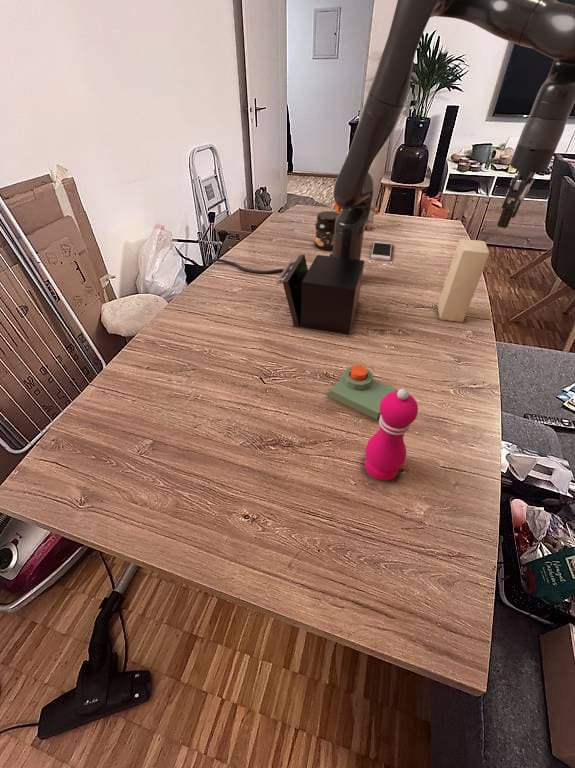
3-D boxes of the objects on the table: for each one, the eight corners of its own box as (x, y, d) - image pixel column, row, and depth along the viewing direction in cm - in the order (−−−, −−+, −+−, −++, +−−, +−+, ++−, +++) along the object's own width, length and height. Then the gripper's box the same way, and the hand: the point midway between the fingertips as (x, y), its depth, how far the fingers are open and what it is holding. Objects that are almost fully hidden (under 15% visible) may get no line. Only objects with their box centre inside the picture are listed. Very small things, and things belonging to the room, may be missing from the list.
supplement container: (309, 243, 152) (311, 212, 144) (332, 239, 156) (335, 209, 148) (321, 253, 145) (323, 221, 137) (345, 249, 148) (348, 217, 140)
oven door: (284, 327, 108) (272, 283, 100) (300, 297, 121) (290, 256, 113) (299, 326, 106) (288, 281, 98) (313, 296, 119) (304, 254, 111)
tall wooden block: (465, 323, 109) (493, 252, 95) (439, 320, 110) (462, 250, 96) (462, 309, 115) (487, 240, 101) (437, 306, 116) (458, 238, 102)
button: (347, 377, 85) (348, 371, 84) (355, 369, 87) (355, 363, 86) (361, 383, 84) (362, 377, 82) (368, 375, 86) (370, 369, 85)
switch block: (329, 397, 85) (330, 384, 83) (349, 374, 91) (351, 361, 89) (376, 420, 80) (380, 407, 78) (395, 394, 86) (399, 382, 84)
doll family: (376, 228, 165) (382, 196, 156) (371, 236, 159) (376, 203, 150) (331, 221, 172) (334, 190, 163) (324, 228, 165) (326, 196, 156)
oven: (300, 327, 107) (301, 281, 97) (314, 297, 120) (316, 254, 110) (348, 335, 104) (355, 289, 94) (358, 303, 117) (364, 260, 107)
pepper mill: (358, 452, 74) (375, 376, 60) (394, 450, 74) (418, 373, 61) (367, 484, 68) (387, 408, 55) (405, 481, 69) (435, 405, 56)
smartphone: (370, 258, 142) (371, 256, 141) (373, 243, 153) (374, 240, 152) (389, 260, 140) (390, 258, 140) (391, 245, 151) (392, 242, 151)
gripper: (525, 136, 85) (496, 210, 96) (511, 146, 77) (482, 226, 88) (561, 140, 82) (528, 217, 93) (552, 151, 74) (516, 234, 85)
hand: (505, 221), depth 90 cm, fingers open, 8 cm apart
